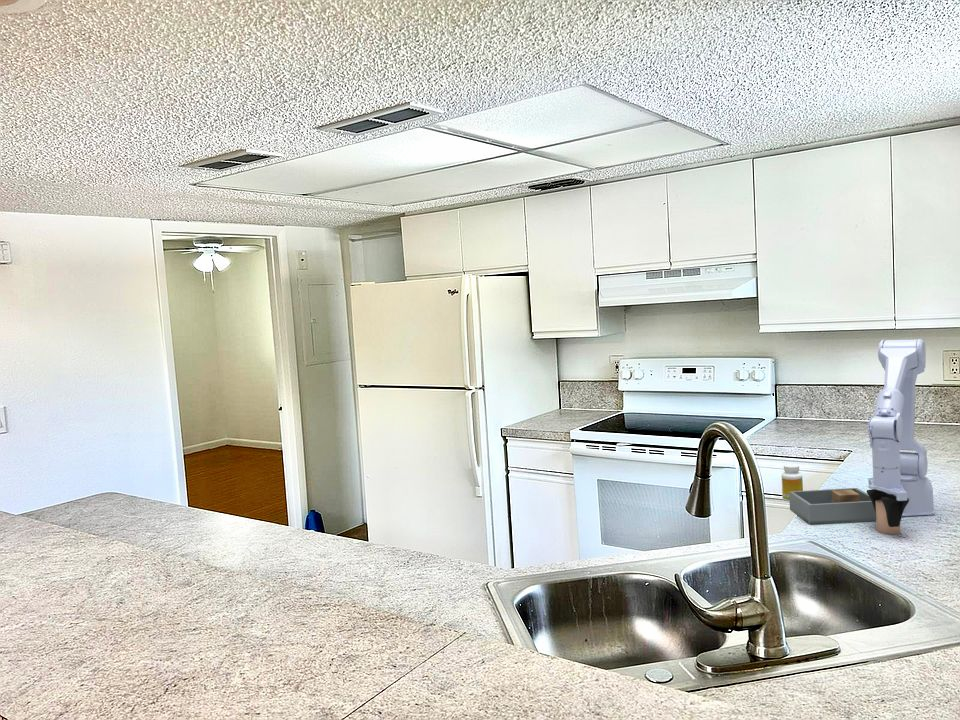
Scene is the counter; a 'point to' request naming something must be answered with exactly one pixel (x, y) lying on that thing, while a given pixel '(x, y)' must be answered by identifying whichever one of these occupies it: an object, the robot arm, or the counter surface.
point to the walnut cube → (845, 496)
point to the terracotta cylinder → (883, 520)
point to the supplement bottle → (791, 480)
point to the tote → (831, 507)
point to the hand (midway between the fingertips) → (888, 522)
